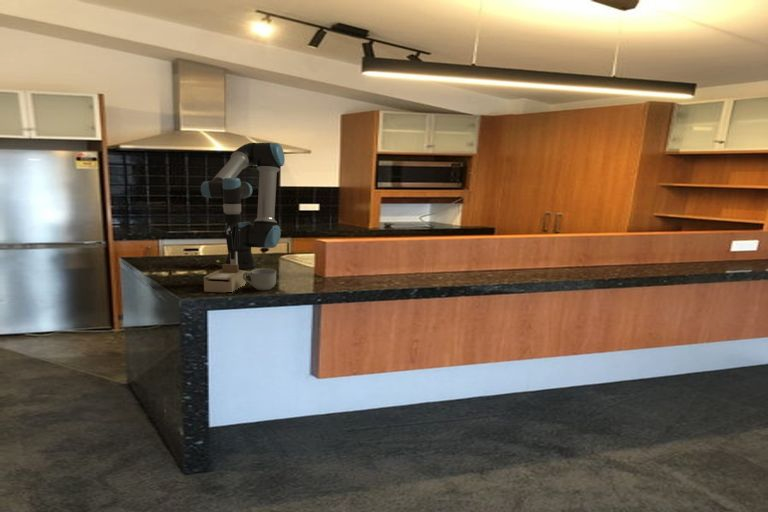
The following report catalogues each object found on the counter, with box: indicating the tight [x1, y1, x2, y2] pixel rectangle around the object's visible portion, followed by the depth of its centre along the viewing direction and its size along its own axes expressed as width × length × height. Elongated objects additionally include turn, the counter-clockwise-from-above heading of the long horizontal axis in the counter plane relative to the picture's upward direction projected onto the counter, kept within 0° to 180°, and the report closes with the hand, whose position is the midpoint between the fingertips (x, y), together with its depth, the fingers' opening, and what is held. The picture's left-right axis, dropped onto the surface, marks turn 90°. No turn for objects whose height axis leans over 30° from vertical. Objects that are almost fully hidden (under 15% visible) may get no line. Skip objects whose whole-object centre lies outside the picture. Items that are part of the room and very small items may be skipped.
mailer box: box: [203, 269, 247, 293], centre depth 227 cm, size 16×12×6 cm
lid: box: [207, 263, 240, 280], centre depth 226 cm, size 14×10×4 cm
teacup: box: [243, 268, 277, 291], centre depth 226 cm, size 14×11×8 cm
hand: (234, 265), depth 236 cm, fingers closed
